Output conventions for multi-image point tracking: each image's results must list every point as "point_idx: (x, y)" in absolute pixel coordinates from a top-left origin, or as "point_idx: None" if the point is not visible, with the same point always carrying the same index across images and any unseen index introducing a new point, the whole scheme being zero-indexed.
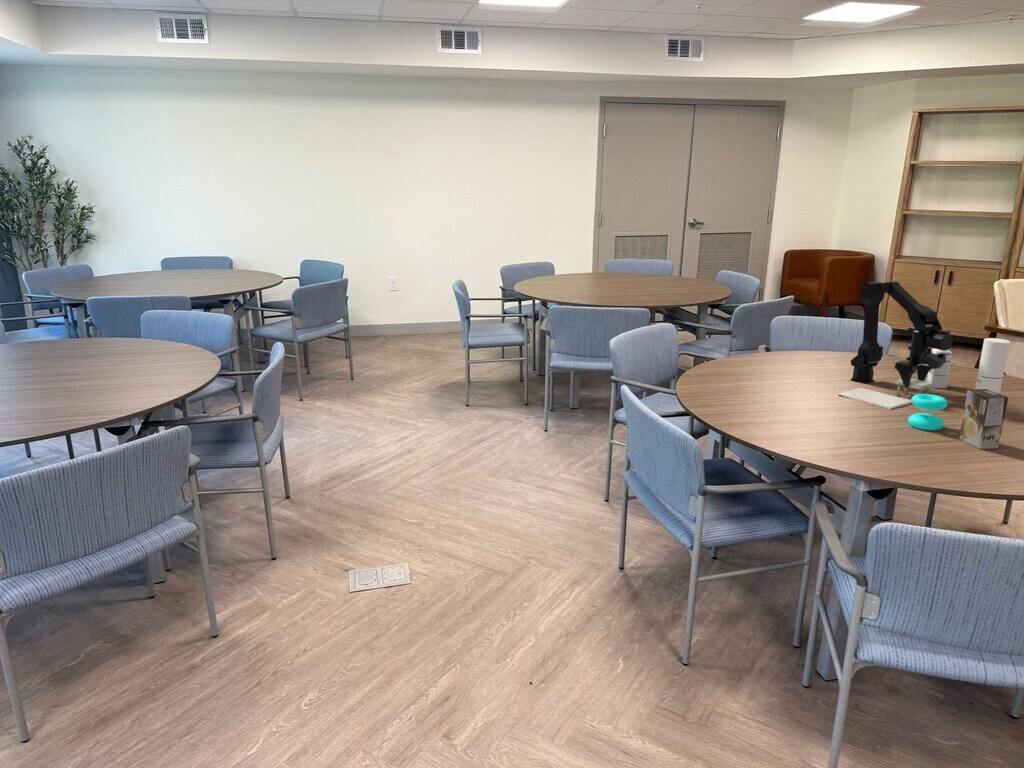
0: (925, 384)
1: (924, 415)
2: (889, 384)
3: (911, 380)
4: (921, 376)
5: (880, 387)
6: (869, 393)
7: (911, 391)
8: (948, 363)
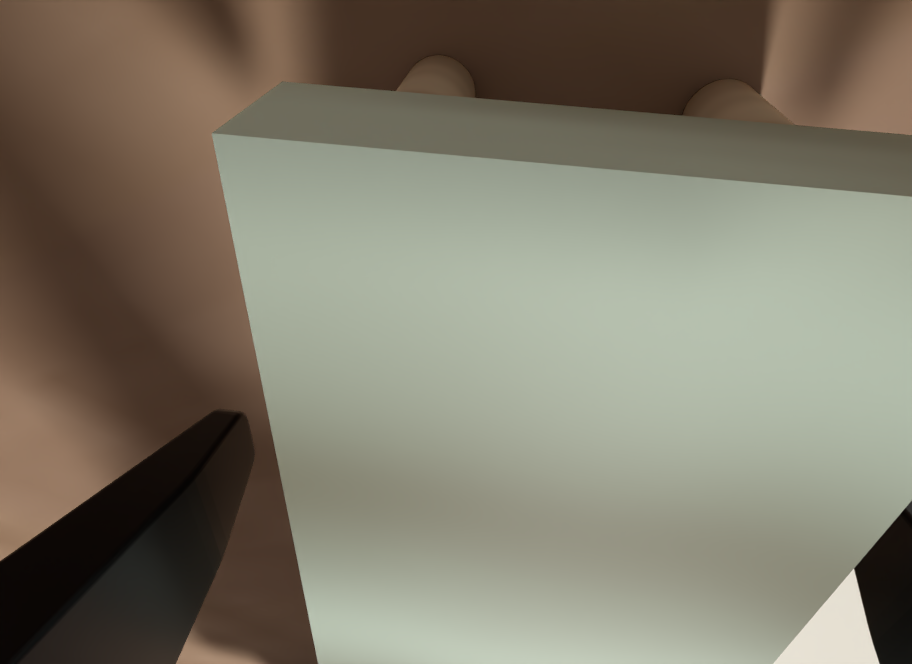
0: (707, 270)
1: None
2: (230, 595)
3: (498, 618)
4: (136, 621)
5: None
6: None
7: (245, 402)
8: None
